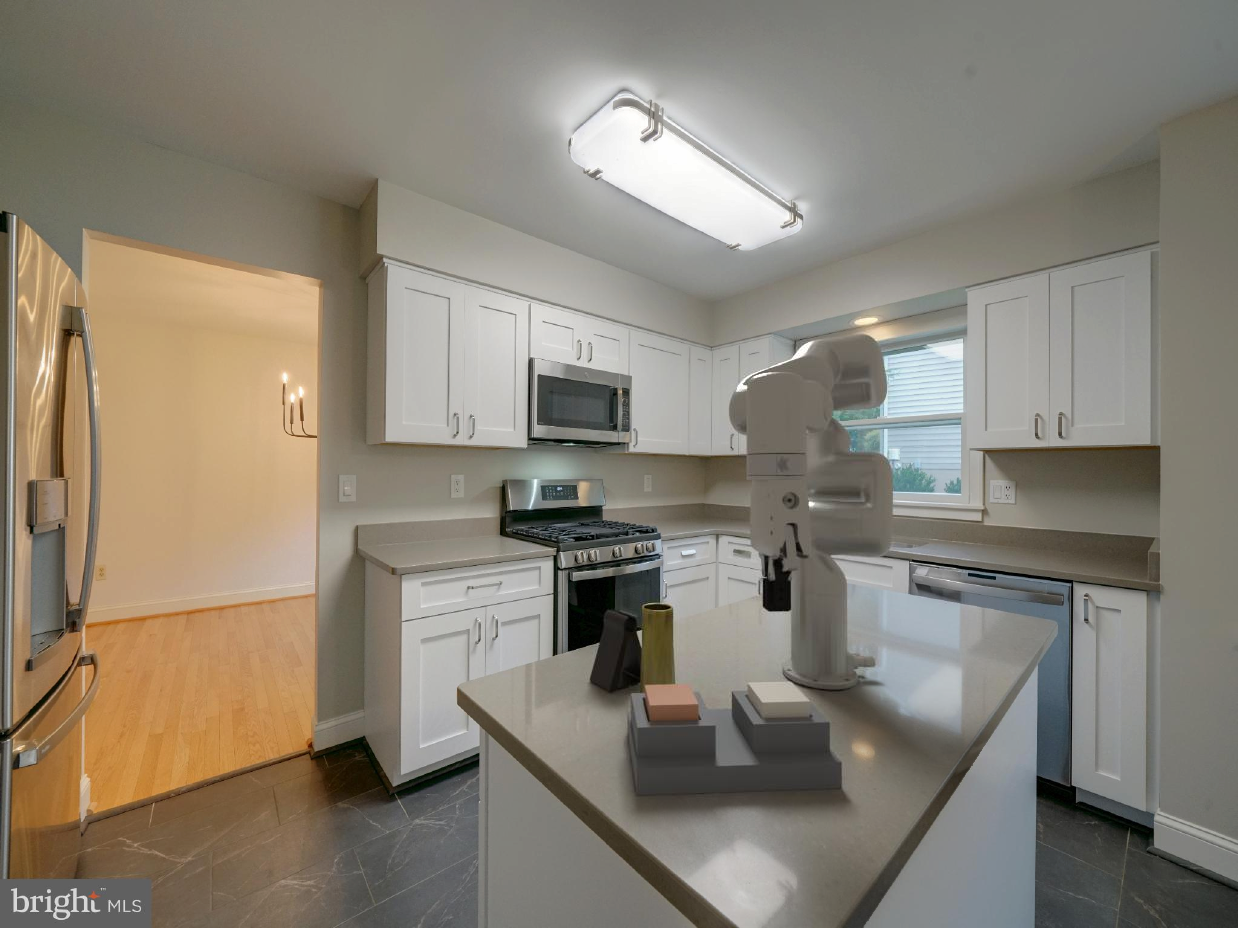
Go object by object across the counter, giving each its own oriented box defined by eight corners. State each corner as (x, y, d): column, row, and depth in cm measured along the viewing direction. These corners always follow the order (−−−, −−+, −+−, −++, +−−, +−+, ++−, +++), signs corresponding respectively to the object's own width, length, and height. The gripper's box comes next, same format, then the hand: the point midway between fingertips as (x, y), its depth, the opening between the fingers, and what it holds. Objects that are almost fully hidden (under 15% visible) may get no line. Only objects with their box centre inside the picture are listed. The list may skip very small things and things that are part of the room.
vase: (665, 703, 81) (665, 613, 81) (632, 694, 84) (632, 608, 85) (682, 689, 86) (681, 605, 86) (650, 681, 89) (650, 600, 90)
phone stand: (609, 693, 85) (609, 621, 85) (589, 681, 90) (589, 613, 90) (650, 680, 90) (650, 612, 90) (629, 669, 95) (629, 605, 95)
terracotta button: (689, 706, 68) (689, 683, 69) (698, 728, 62) (698, 704, 63) (644, 707, 68) (644, 684, 68) (650, 729, 62) (650, 705, 62)
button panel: (793, 727, 73) (793, 682, 73) (841, 787, 59) (841, 731, 59) (627, 732, 72) (627, 686, 72) (636, 795, 58) (636, 737, 58)
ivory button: (790, 703, 69) (790, 681, 69) (810, 725, 63) (809, 701, 63) (747, 704, 69) (747, 682, 69) (762, 726, 63) (762, 702, 63)
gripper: (831, 468, 59) (832, 626, 59) (782, 469, 74) (783, 595, 74) (767, 468, 59) (768, 627, 59) (731, 469, 74) (732, 596, 73)
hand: (776, 609), depth 66 cm, fingers closed
